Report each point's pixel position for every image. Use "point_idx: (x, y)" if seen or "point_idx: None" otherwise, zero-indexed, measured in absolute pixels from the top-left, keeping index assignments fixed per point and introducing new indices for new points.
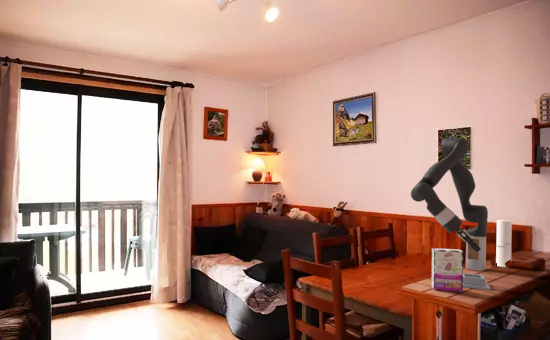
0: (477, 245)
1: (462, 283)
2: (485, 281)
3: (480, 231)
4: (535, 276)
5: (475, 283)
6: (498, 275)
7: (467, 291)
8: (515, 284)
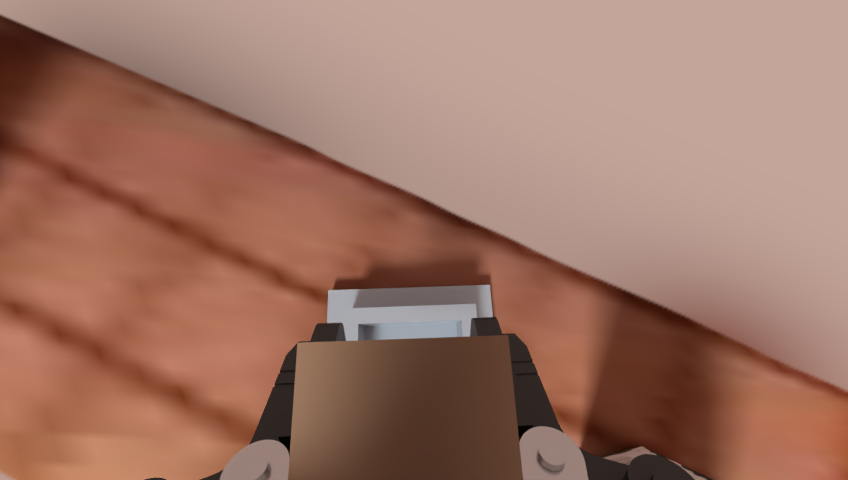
0: (512, 363)
1: (675, 463)
2: (330, 293)
3: None
4: (23, 32)
5: None
6: (54, 195)
7: (594, 414)
8: (272, 151)
